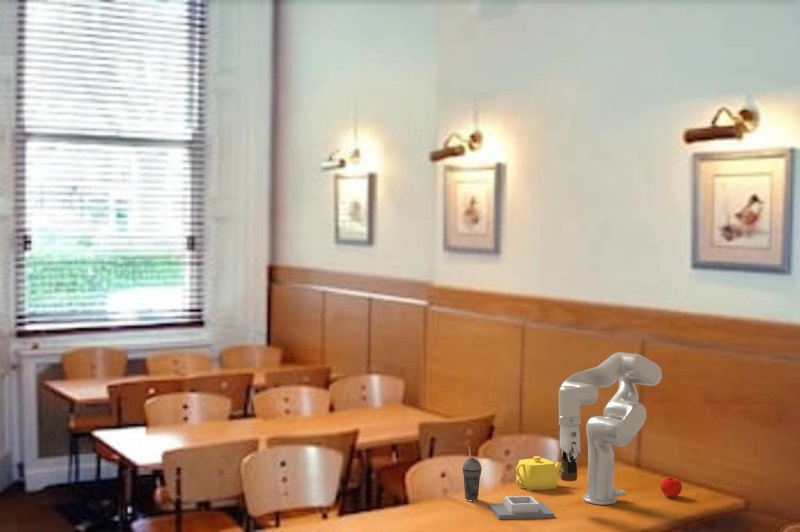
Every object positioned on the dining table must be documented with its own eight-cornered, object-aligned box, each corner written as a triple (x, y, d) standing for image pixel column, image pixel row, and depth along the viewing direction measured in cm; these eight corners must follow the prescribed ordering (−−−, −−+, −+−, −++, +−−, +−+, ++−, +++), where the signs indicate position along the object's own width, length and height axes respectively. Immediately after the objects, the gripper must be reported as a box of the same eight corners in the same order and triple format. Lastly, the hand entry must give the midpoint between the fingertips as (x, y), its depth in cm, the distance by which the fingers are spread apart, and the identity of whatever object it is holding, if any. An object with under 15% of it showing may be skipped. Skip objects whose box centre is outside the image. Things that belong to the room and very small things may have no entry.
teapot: (553, 480, 391) (554, 451, 391) (568, 488, 380) (569, 458, 379) (508, 484, 385) (509, 454, 384) (523, 492, 373) (523, 461, 373)
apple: (659, 498, 367) (660, 479, 367) (660, 493, 375) (660, 474, 374) (681, 500, 365) (682, 481, 365) (681, 495, 372) (682, 476, 372)
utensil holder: (577, 477, 351) (577, 445, 350) (576, 482, 345) (576, 449, 344) (561, 476, 352) (561, 444, 352) (559, 481, 346) (560, 448, 346)
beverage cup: (479, 503, 357) (481, 449, 357) (460, 501, 359) (461, 448, 358) (482, 497, 364) (483, 444, 364) (463, 496, 366) (464, 443, 365)
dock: (542, 506, 355) (542, 494, 354) (554, 517, 341) (554, 504, 341) (489, 507, 351) (489, 495, 351) (498, 519, 338) (499, 506, 337)
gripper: (587, 425, 340) (587, 476, 341) (571, 415, 357) (571, 463, 358) (567, 426, 338) (566, 477, 340) (551, 415, 355) (551, 464, 356)
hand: (568, 469), depth 349 cm, fingers closed on utensil holder, 5 cm apart
